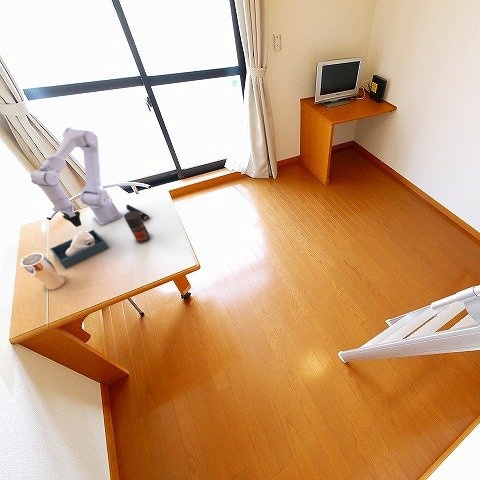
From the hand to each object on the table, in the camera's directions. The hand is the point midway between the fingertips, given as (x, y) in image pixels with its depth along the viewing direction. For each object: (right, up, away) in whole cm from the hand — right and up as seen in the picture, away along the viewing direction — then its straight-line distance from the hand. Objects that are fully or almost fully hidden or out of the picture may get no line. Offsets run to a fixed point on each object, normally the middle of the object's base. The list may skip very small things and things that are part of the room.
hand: (75, 221), depth 125 cm
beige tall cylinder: (+2, -26, -11) cm, 28 cm away
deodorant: (+25, -8, +10) cm, 28 cm away
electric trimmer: (+14, +5, +22) cm, 27 cm away
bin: (+2, -14, +1) cm, 14 cm away
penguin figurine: (+3, -13, +1) cm, 13 cm away
